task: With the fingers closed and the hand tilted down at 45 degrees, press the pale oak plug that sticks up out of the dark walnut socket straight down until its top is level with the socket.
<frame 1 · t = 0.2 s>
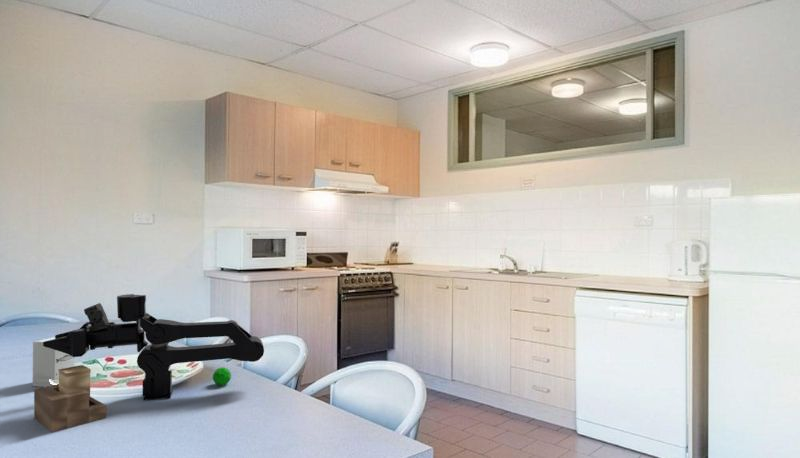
hand: (49, 340, 133), 16 cm above the table, tool horizontal, fingers open, 9 cm apart
supplement box: (53, 383, 151), on the table
socket: (74, 417, 125), on the table
peg: (74, 383, 125), point 8 cm above the table, slide at 0.0 cm
polyhedron: (221, 385, 152), on the table
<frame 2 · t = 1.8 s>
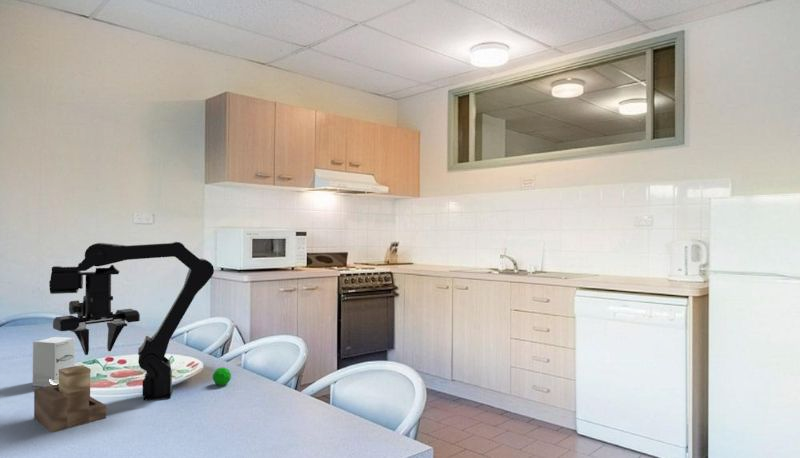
hand: (98, 352, 135), 13 cm above the table, tool pointing down, fingers open, 5 cm apart
nothing on the table moved.
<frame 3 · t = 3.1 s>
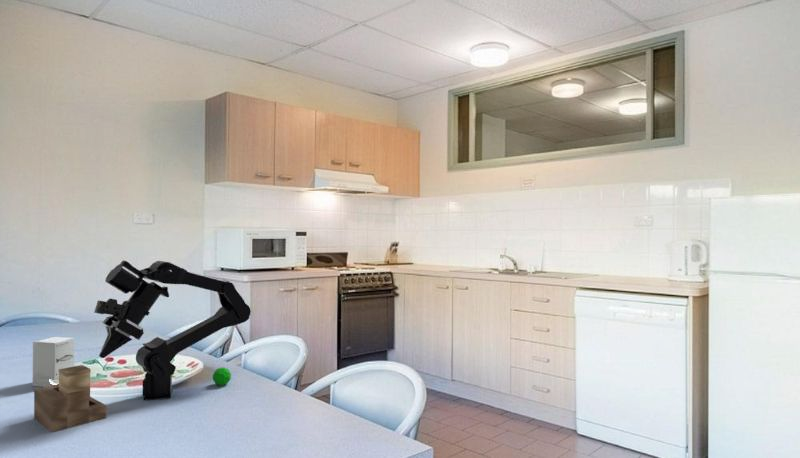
hand: (101, 357, 131), 13 cm above the table, tool tilted 35°, fingers closed
nothing on the table moved.
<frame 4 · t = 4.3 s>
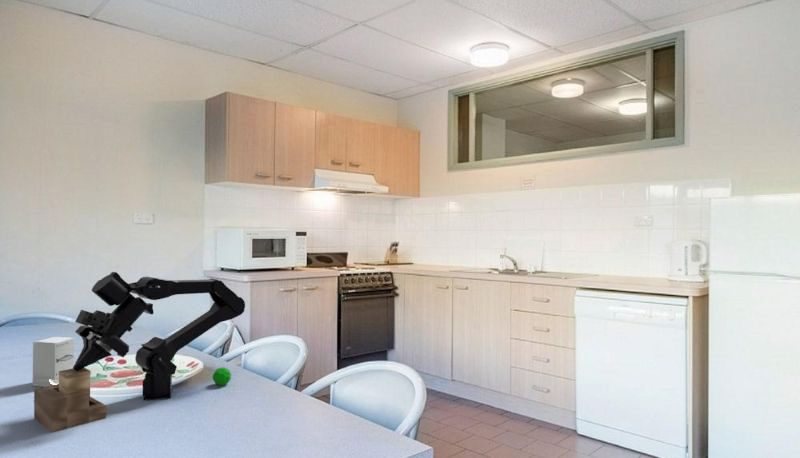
hand: (74, 369, 125), 11 cm above the table, tool tilted 45°, fingers closed, pressing on peg
peg: (74, 385, 125), point 8 cm above the table, slide at 0.5 cm, touching gripper
everything else where it was.
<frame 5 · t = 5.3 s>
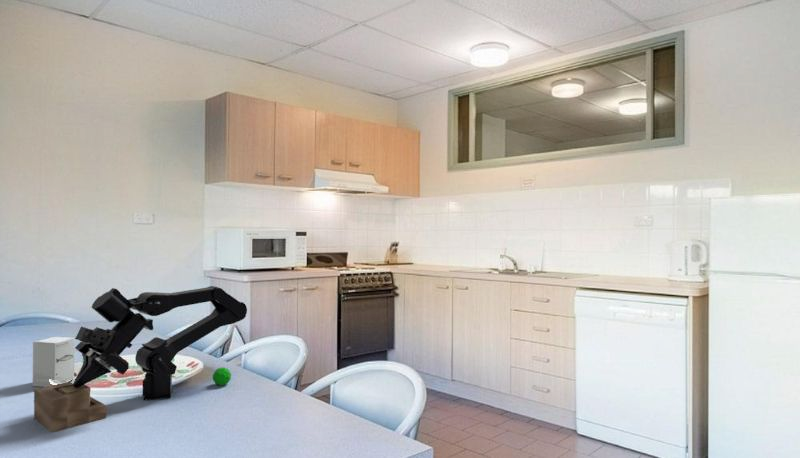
hand: (74, 386, 125), 7 cm above the table, tool tilted 45°, fingers closed, pressing on peg
peg: (74, 402, 125), point 3 cm above the table, slide at 4.5 cm, touching gripper
everything else where it was.
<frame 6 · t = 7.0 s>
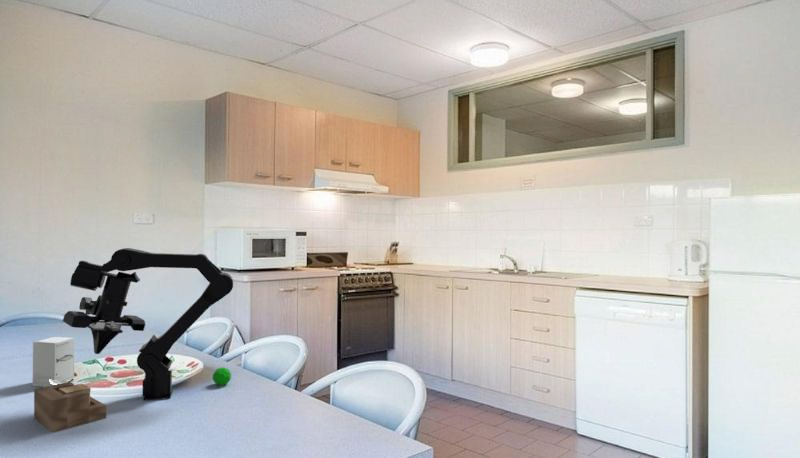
hand: (96, 353, 136), 12 cm above the table, tool tilted 15°, fingers closed
peg: (74, 402, 125), point 3 cm above the table, slide at 4.5 cm
everything else where it was.
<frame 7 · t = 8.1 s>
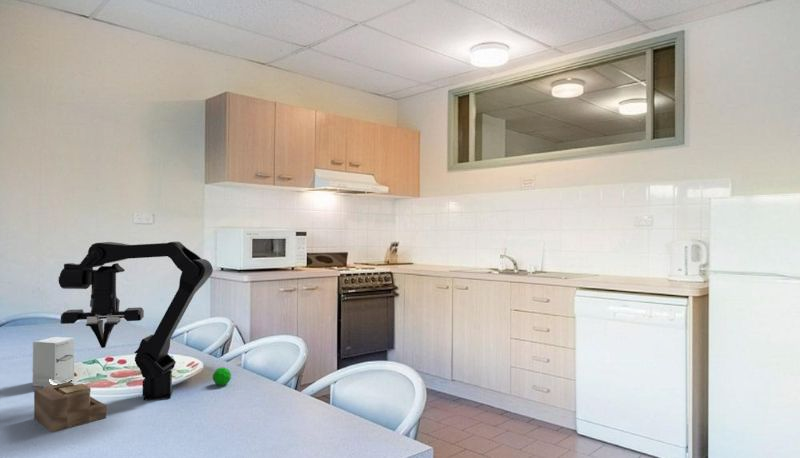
hand: (103, 347, 140), 13 cm above the table, tool pointing down, fingers closed
nothing on the table moved.
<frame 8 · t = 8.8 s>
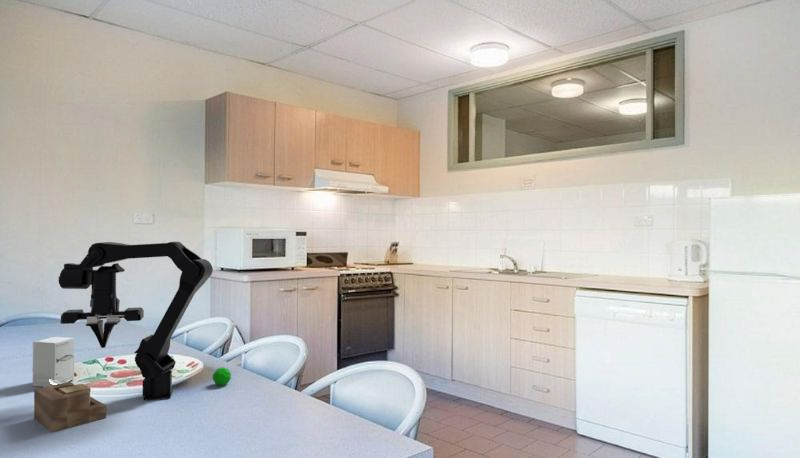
hand: (103, 347, 140), 13 cm above the table, tool pointing down, fingers closed
nothing on the table moved.
at the end: peg slide at 4.5 cm; peg resting in socket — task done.
